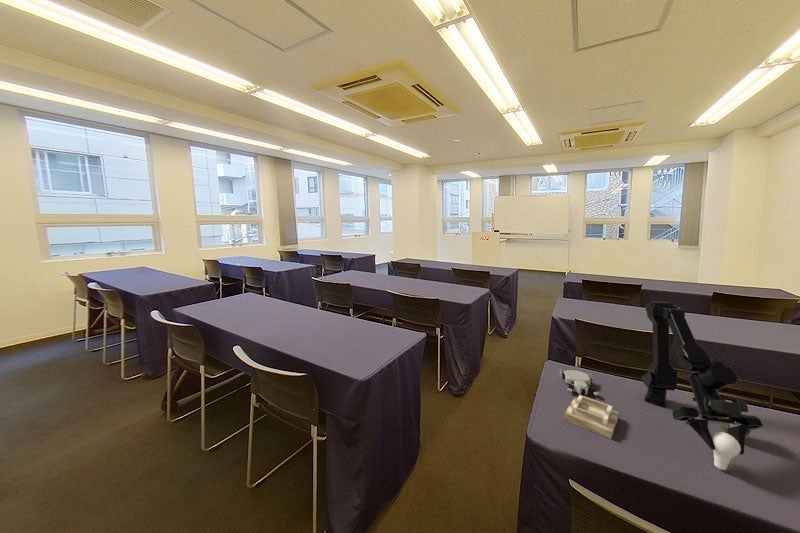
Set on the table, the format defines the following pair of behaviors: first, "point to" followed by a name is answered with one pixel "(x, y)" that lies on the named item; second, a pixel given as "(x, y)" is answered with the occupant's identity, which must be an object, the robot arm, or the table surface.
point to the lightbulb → (724, 449)
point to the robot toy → (578, 382)
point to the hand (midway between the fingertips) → (727, 451)
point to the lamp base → (592, 416)
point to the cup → (726, 425)
